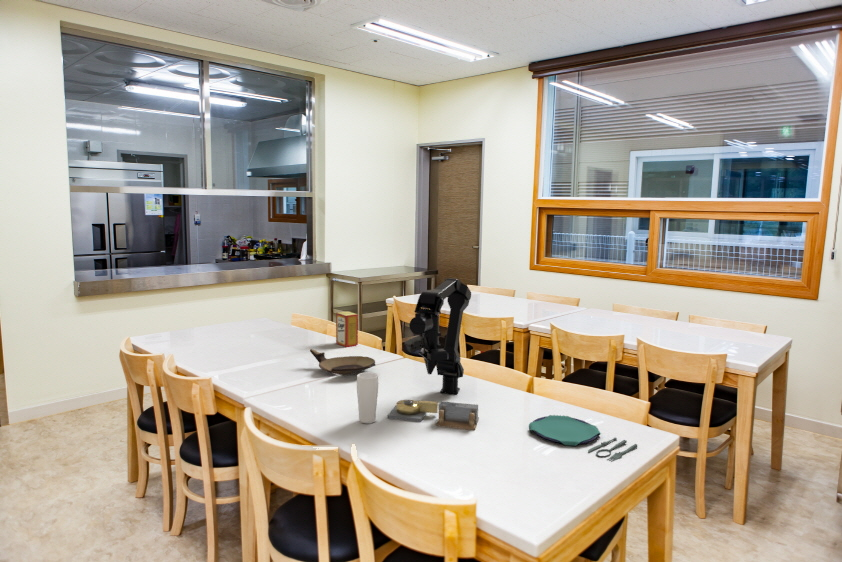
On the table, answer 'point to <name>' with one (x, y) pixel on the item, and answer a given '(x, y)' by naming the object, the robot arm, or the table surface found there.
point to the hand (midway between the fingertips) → (429, 374)
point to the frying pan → (343, 363)
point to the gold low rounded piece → (416, 407)
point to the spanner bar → (458, 411)
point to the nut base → (413, 417)
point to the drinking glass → (367, 396)
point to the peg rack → (457, 424)
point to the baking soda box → (346, 329)
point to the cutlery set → (572, 433)
